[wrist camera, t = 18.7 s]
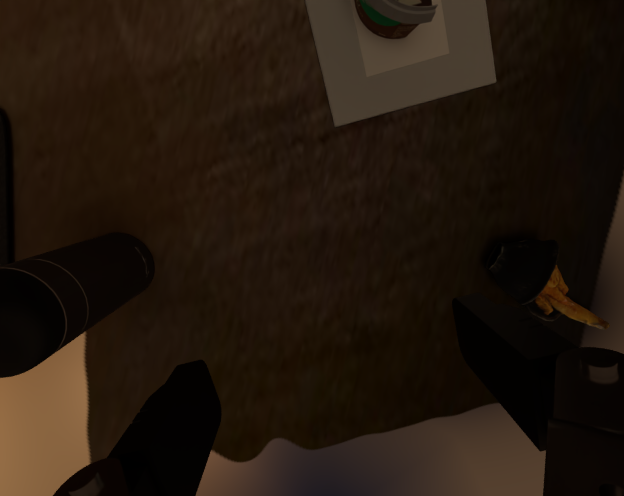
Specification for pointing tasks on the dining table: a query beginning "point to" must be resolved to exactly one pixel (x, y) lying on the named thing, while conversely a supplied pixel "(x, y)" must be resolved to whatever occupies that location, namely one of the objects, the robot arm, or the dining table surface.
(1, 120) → the sushi plate
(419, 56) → the dock
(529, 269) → the fried shrimp in bowl
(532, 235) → the dining table surface
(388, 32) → the food container
